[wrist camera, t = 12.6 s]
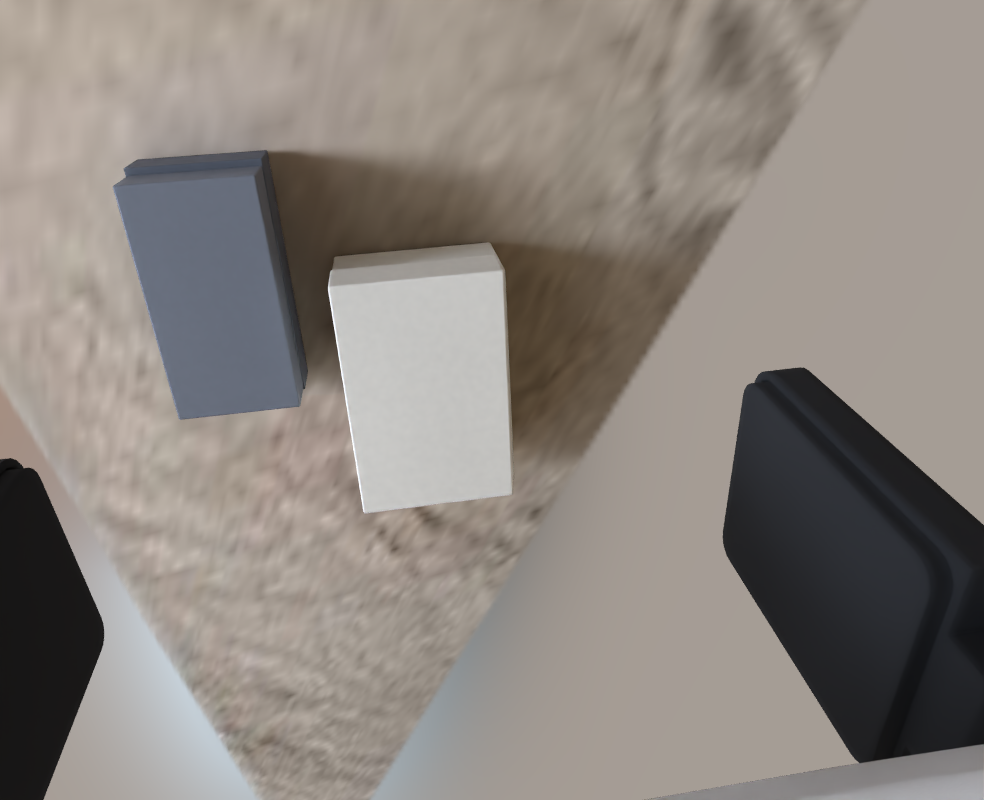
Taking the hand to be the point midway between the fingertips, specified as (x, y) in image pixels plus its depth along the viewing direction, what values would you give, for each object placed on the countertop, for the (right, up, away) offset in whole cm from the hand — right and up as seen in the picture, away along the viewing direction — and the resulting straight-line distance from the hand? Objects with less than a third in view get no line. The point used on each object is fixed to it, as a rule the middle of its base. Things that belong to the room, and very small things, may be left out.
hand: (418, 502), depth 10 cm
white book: (-2, +2, +24) cm, 24 cm away
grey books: (-11, +7, +24) cm, 28 cm away
